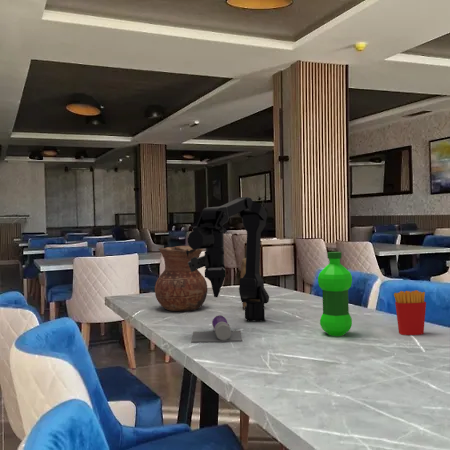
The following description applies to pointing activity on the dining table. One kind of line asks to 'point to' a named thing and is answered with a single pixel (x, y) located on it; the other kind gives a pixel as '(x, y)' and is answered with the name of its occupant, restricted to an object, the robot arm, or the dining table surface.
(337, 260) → the plastic bottle
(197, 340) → the mat
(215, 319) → the container
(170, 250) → the jug
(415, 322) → the french fries
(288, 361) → the dining table surface
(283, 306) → the dining table surface
